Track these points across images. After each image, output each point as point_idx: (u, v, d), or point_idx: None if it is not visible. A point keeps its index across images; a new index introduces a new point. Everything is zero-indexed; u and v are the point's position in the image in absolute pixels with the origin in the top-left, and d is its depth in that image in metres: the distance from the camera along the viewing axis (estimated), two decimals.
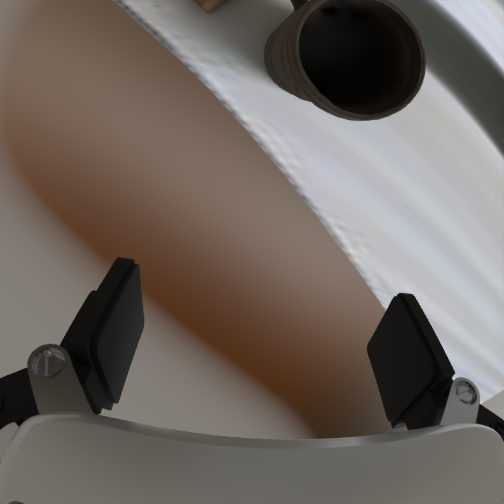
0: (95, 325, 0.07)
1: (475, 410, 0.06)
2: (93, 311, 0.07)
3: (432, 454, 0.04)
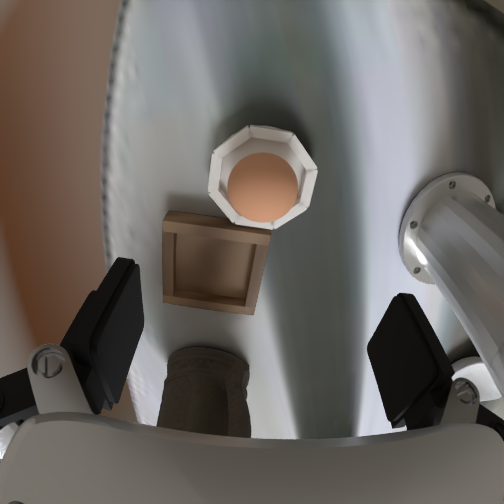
0: (95, 325, 0.07)
1: (475, 410, 0.06)
2: (93, 311, 0.07)
3: (432, 454, 0.04)
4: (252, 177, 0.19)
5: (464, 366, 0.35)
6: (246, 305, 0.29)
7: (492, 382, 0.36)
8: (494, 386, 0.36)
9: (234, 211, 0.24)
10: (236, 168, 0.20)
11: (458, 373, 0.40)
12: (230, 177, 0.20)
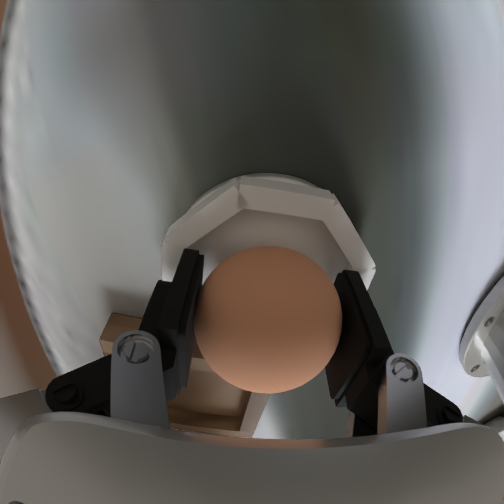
0: (181, 310, 0.08)
1: (419, 383, 0.07)
2: (175, 297, 0.08)
3: (432, 454, 0.04)
4: (243, 334, 0.08)
5: (497, 432, 0.24)
6: (241, 430, 0.18)
7: None
8: None
9: None
10: (208, 295, 0.09)
11: None
12: (197, 312, 0.09)
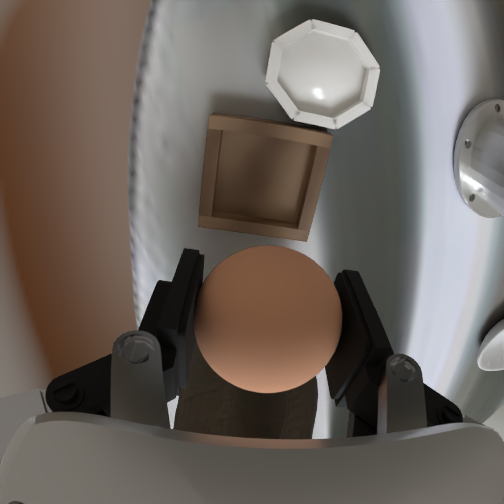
0: (181, 309, 0.08)
1: (419, 383, 0.07)
2: (175, 297, 0.08)
3: (432, 454, 0.04)
4: (243, 334, 0.08)
5: None
6: (299, 227, 0.24)
7: None
8: None
9: (294, 105, 0.19)
10: (208, 294, 0.09)
11: (501, 335, 0.35)
12: (197, 311, 0.09)
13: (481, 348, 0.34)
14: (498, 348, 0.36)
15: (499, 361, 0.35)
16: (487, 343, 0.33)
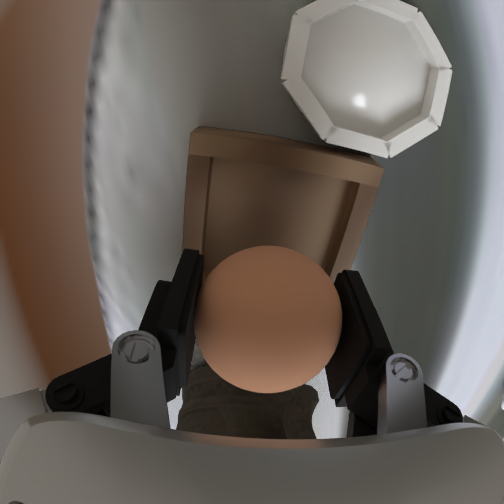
0: (181, 310, 0.08)
1: (419, 383, 0.07)
2: (175, 297, 0.08)
3: (432, 454, 0.04)
4: (243, 333, 0.08)
5: None
6: None
7: None
8: None
9: (327, 118, 0.12)
10: (207, 294, 0.09)
11: None
12: (196, 311, 0.09)
13: None
14: None
15: None
16: None
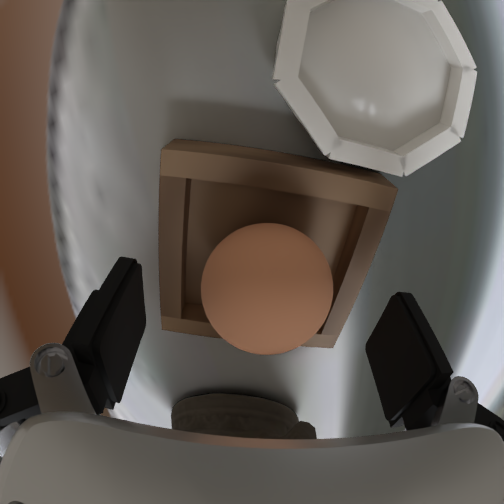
0: (98, 324, 0.07)
1: (473, 409, 0.06)
2: (96, 310, 0.07)
3: (432, 454, 0.04)
4: (245, 293, 0.09)
5: None
6: (324, 332, 0.15)
7: None
8: None
9: (331, 128, 0.10)
10: (214, 262, 0.10)
11: None
12: (204, 278, 0.11)
13: None
14: None
15: None
16: None
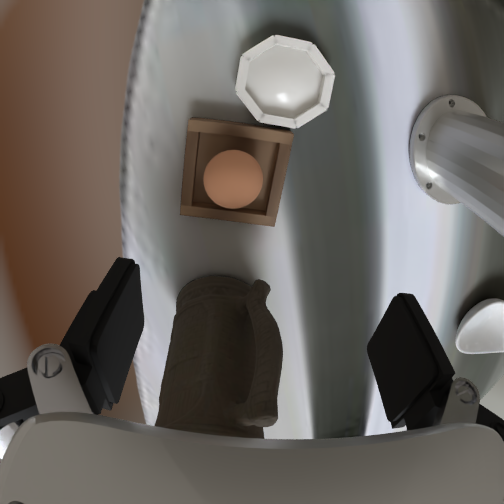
0: (95, 325, 0.07)
1: (475, 410, 0.06)
2: (93, 311, 0.07)
3: (432, 454, 0.04)
4: (222, 169, 0.23)
5: (488, 303, 0.35)
6: (267, 214, 0.28)
7: None
8: None
9: (259, 109, 0.23)
10: (210, 163, 0.24)
11: (478, 319, 0.40)
12: (205, 170, 0.24)
13: (459, 329, 0.39)
14: (476, 332, 0.41)
15: (477, 345, 0.41)
16: (464, 324, 0.37)
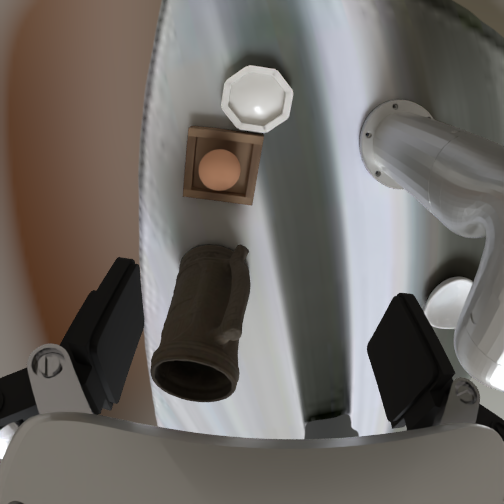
0: (95, 325, 0.07)
1: (475, 410, 0.06)
2: (93, 311, 0.07)
3: (432, 454, 0.04)
4: (209, 163, 0.33)
5: (452, 280, 0.44)
6: (246, 196, 0.38)
7: None
8: None
9: (238, 120, 0.33)
10: (202, 158, 0.34)
11: (447, 296, 0.49)
12: (199, 164, 0.34)
13: (426, 303, 0.48)
14: (446, 309, 0.50)
15: (448, 320, 0.49)
16: (430, 298, 0.46)
